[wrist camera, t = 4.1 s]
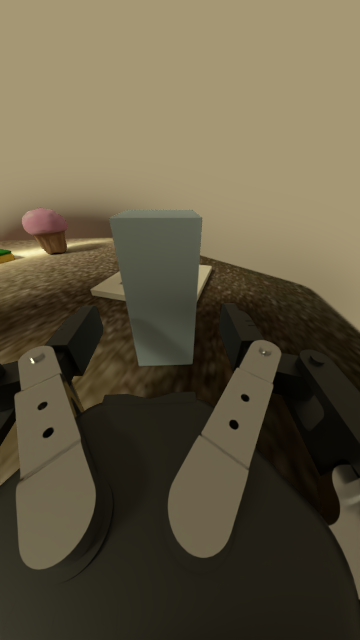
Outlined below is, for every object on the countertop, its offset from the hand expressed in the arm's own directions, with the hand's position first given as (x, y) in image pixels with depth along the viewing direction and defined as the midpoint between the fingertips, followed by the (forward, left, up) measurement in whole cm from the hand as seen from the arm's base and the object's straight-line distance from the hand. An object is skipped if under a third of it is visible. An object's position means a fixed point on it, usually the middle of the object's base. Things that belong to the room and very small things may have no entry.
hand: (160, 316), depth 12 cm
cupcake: (-41, +28, -7) cm, 50 cm away
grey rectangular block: (-1, +4, -7) cm, 8 cm away
